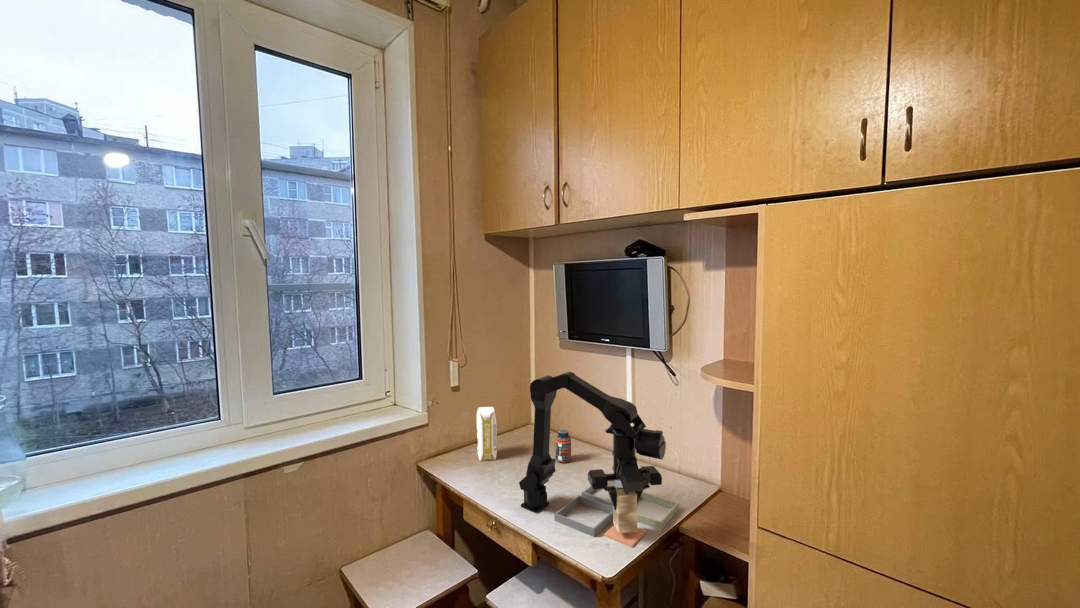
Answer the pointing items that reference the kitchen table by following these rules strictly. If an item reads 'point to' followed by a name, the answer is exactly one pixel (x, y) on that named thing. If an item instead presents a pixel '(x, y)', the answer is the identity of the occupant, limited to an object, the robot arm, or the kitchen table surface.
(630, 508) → the letter block
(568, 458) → the supplement bottle
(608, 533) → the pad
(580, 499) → the tray charcoal
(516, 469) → the kitchen table surface
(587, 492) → the tray slate
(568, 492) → the kitchen table surface
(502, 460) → the kitchen table surface
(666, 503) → the tray olive
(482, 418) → the juice carton
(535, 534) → the kitchen table surface
